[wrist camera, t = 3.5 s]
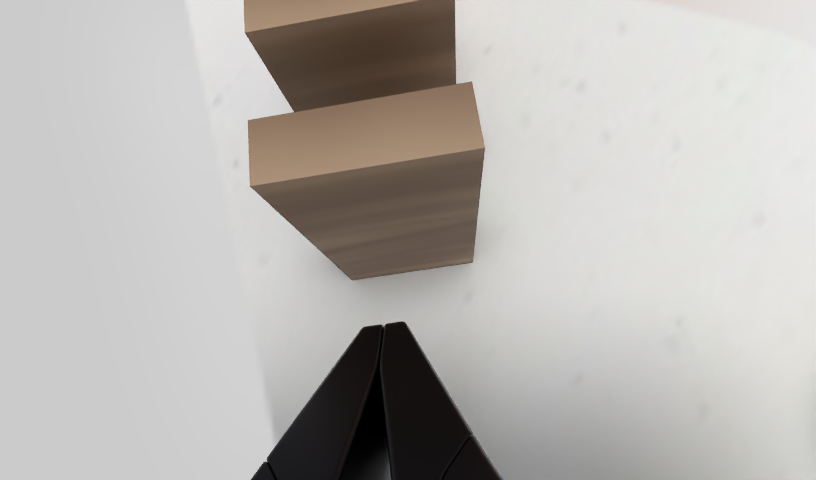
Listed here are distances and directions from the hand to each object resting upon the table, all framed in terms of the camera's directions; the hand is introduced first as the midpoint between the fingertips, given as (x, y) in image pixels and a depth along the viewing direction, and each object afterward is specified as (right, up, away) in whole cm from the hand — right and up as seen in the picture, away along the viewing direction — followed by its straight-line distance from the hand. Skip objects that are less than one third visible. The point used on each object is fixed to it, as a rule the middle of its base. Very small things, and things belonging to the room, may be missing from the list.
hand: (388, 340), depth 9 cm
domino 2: (0, +1, +10) cm, 11 cm away
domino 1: (0, +5, +12) cm, 13 cm away
